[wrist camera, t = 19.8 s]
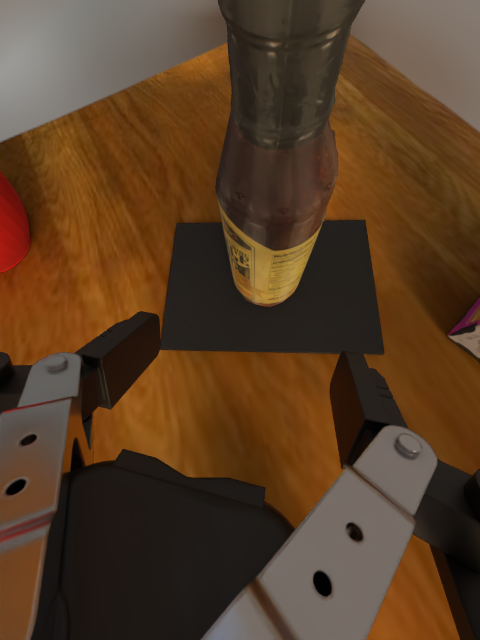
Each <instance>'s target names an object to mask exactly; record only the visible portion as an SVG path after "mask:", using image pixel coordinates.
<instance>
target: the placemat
mask: <svg viewBox="0 0 480 640" xmlns="http://www.w3.org/2000/svg"><path fill="white" fill-rule="evenodd" d="M160 342H161V345H160V350H192V351H238V352H284V353H330V354H341V352H342V351H343V350H344V351H349V352H354V353H360V354H377V355H383V354H384V346H383V339H382V333H381V326H380V319H379V312H378V305H377V298H376V291H375V284H374V277H373V270H372V263H371V256H370V249H369V242H368V235H367V228H366V221H365V220H334V221H323V223H322V226H321V228H320V231H319V233H318V236H317V238H316V241H315V244H314V246H313V249H312V251H311V254H310V256H309V259H308V261H307V264H306V266H305V269H304V271H303V274H302V276H301V279H300V281H299V284H298V286H297V288H296V289H295V292H294V293H293V294H292V295H291V296H290V297H288V298H287V299H286V300H285V301H283V302H281V303H279V304H277V305H274V306H270V307H269V306H261V305H256V304H253V303H251V302H249V301H247V300H246V299H245V298H244V297H243V296H242V294H241V293H240V292H239V290H238V289H237V287H236V285H235V283H234V279H233V275H232V270H231V265H230V260H229V255H228V250H227V245H226V241H225V235H224V231H223V225H222V223H177V225H176V232H175V239H174V246H173V254H172V261H171V268H170V276H169V283H168V290H167V298H166V305H165V312H164V319H163V327H162V334H161V341H160Z"/></svg>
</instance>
